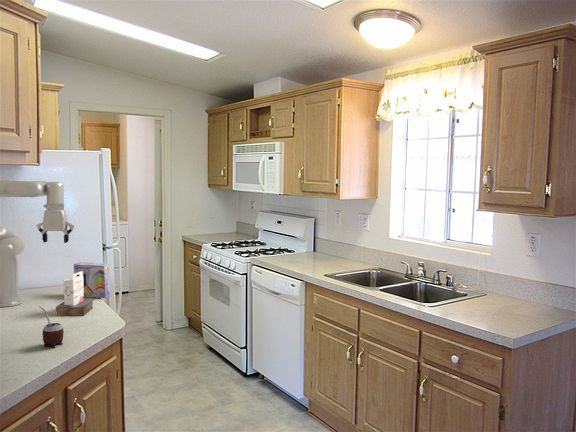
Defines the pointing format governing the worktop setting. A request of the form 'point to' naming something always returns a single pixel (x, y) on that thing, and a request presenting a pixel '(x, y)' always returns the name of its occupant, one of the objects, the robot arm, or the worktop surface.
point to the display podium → (74, 309)
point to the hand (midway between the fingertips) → (55, 242)
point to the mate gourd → (52, 333)
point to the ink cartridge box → (74, 290)
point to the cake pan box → (94, 279)
